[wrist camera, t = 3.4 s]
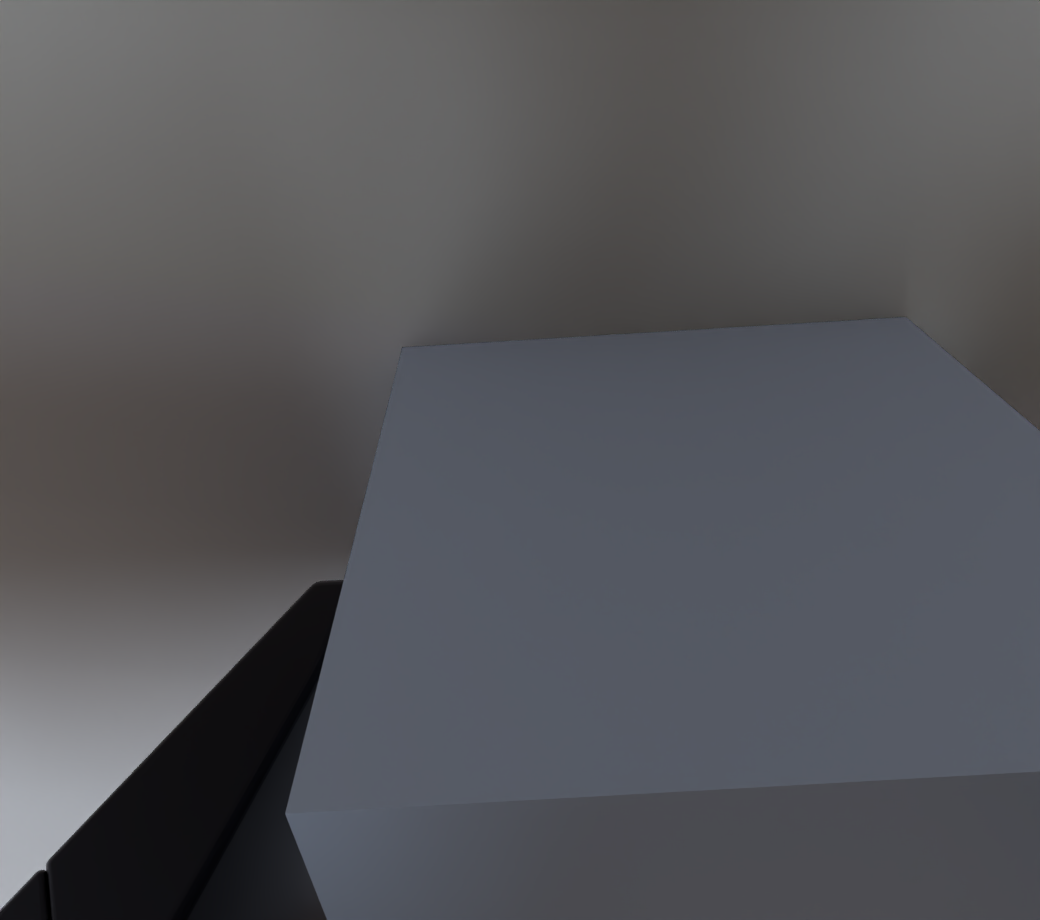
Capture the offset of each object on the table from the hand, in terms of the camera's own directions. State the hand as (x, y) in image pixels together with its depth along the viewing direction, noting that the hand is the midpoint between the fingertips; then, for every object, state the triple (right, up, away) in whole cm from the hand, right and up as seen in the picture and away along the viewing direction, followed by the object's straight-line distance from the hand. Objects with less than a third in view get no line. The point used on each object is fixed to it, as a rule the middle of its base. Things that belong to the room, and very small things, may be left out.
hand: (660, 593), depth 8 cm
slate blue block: (0, +1, +1) cm, 1 cm away
